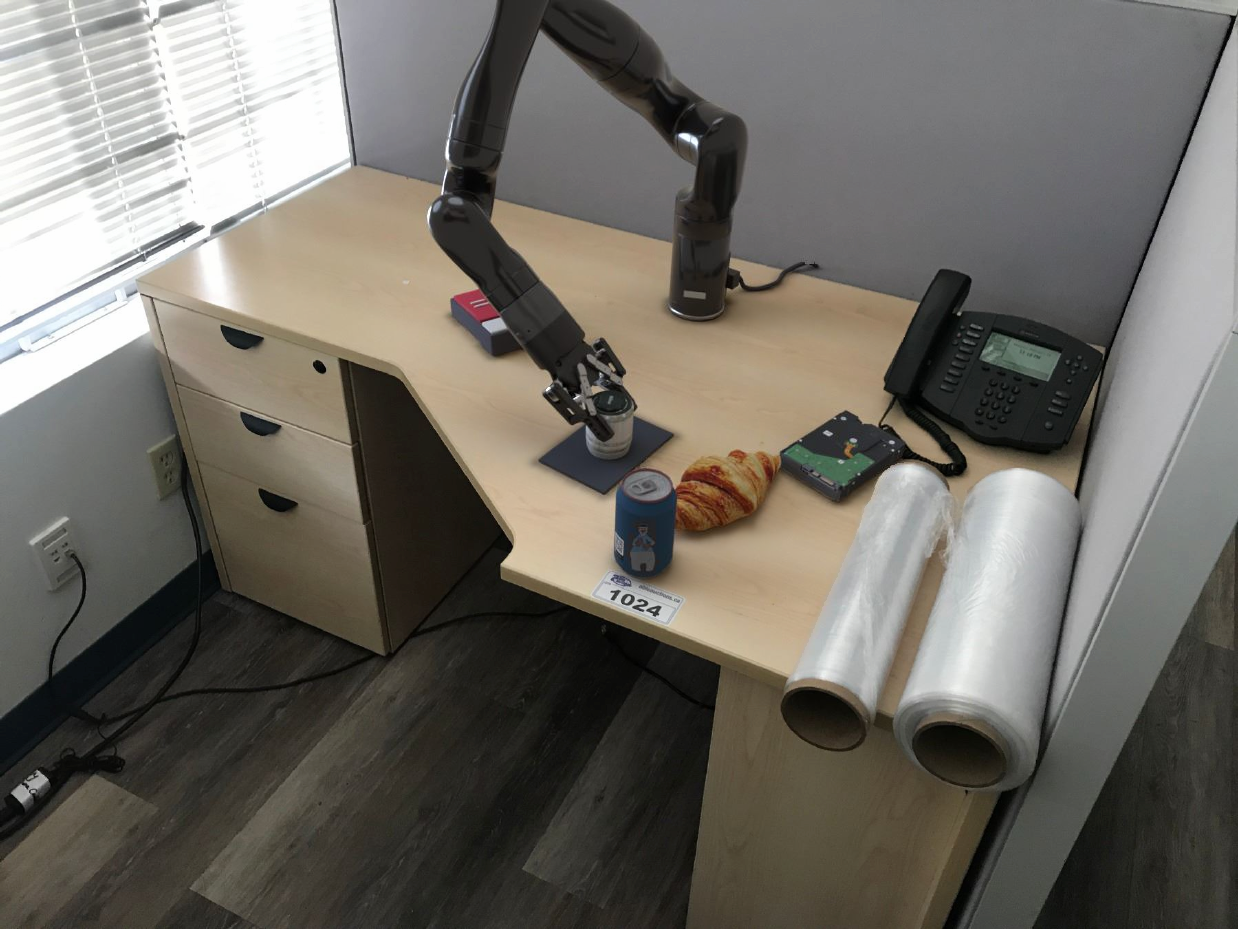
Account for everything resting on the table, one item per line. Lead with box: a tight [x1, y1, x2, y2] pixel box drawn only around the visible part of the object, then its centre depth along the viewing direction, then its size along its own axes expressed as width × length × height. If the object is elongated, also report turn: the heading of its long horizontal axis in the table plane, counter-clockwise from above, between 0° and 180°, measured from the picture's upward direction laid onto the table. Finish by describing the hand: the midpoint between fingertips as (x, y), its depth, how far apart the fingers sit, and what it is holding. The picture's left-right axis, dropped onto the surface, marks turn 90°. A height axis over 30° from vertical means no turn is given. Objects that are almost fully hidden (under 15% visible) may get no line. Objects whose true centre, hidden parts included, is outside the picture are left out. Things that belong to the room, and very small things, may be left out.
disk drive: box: [778, 409, 907, 502], centre depth 132 cm, size 10×3×15 cm
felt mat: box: [537, 415, 675, 495], centre depth 134 cm, size 16×11×1 cm
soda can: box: [613, 467, 677, 579], centre depth 114 cm, size 7×7×12 cm
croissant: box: [674, 449, 781, 532], centre depth 124 cm, size 21×10×8 cm, turn 133°
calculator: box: [449, 289, 523, 357], centre depth 157 cm, size 11×4×15 cm
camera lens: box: [586, 390, 635, 460], centre depth 131 cm, size 6×6×8 cm
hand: (620, 424), depth 131 cm, fingers closed on camera lens, 6 cm apart
